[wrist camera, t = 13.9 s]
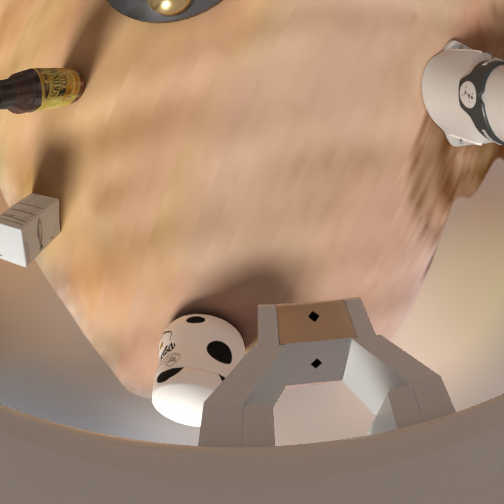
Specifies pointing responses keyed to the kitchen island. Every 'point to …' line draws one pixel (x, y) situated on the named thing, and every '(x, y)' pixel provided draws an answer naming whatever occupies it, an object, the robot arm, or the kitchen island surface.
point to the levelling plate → (136, 7)
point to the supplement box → (28, 228)
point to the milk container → (194, 365)
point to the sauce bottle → (40, 89)
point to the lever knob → (170, 6)
